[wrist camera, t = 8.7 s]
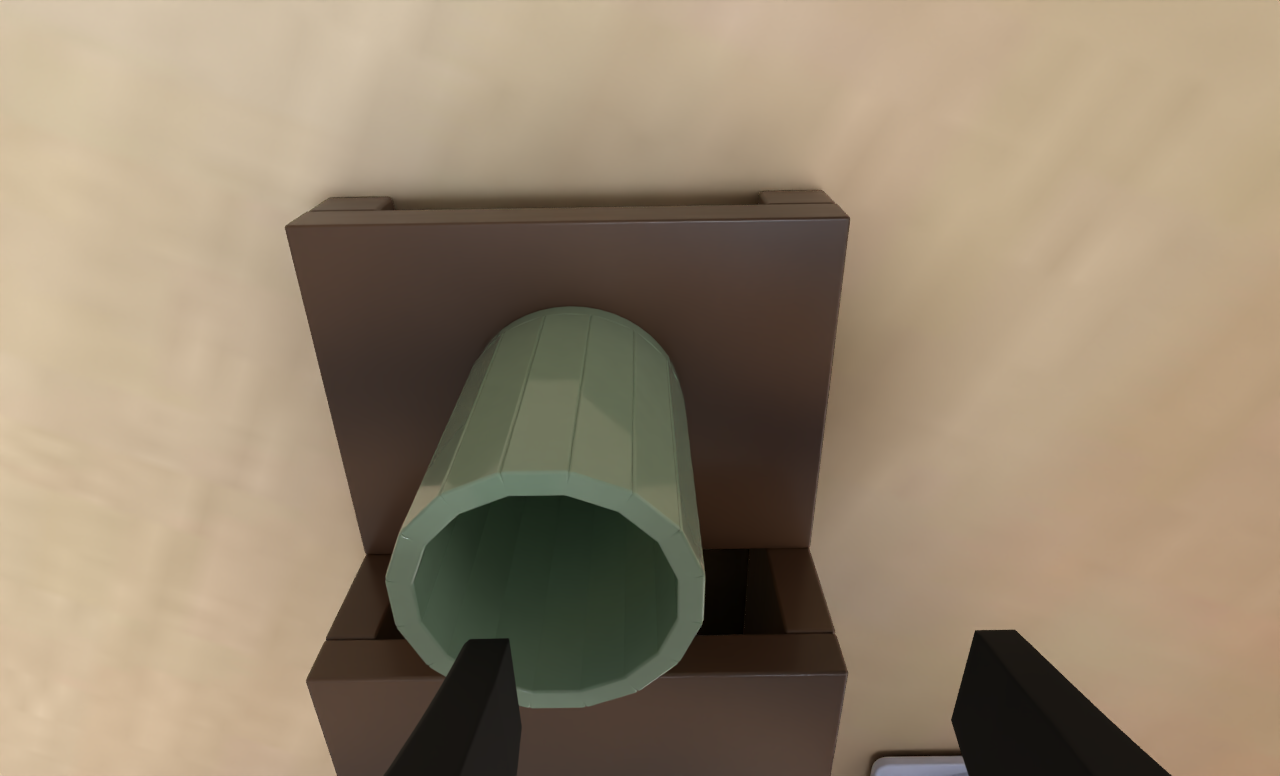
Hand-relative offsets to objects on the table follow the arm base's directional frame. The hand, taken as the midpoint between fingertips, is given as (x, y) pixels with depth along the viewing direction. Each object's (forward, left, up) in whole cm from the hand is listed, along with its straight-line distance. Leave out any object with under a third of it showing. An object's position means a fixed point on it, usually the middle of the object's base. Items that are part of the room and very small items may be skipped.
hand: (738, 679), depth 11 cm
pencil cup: (+1, +3, -7) cm, 8 cm away
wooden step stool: (-4, +3, -10) cm, 11 cm away
